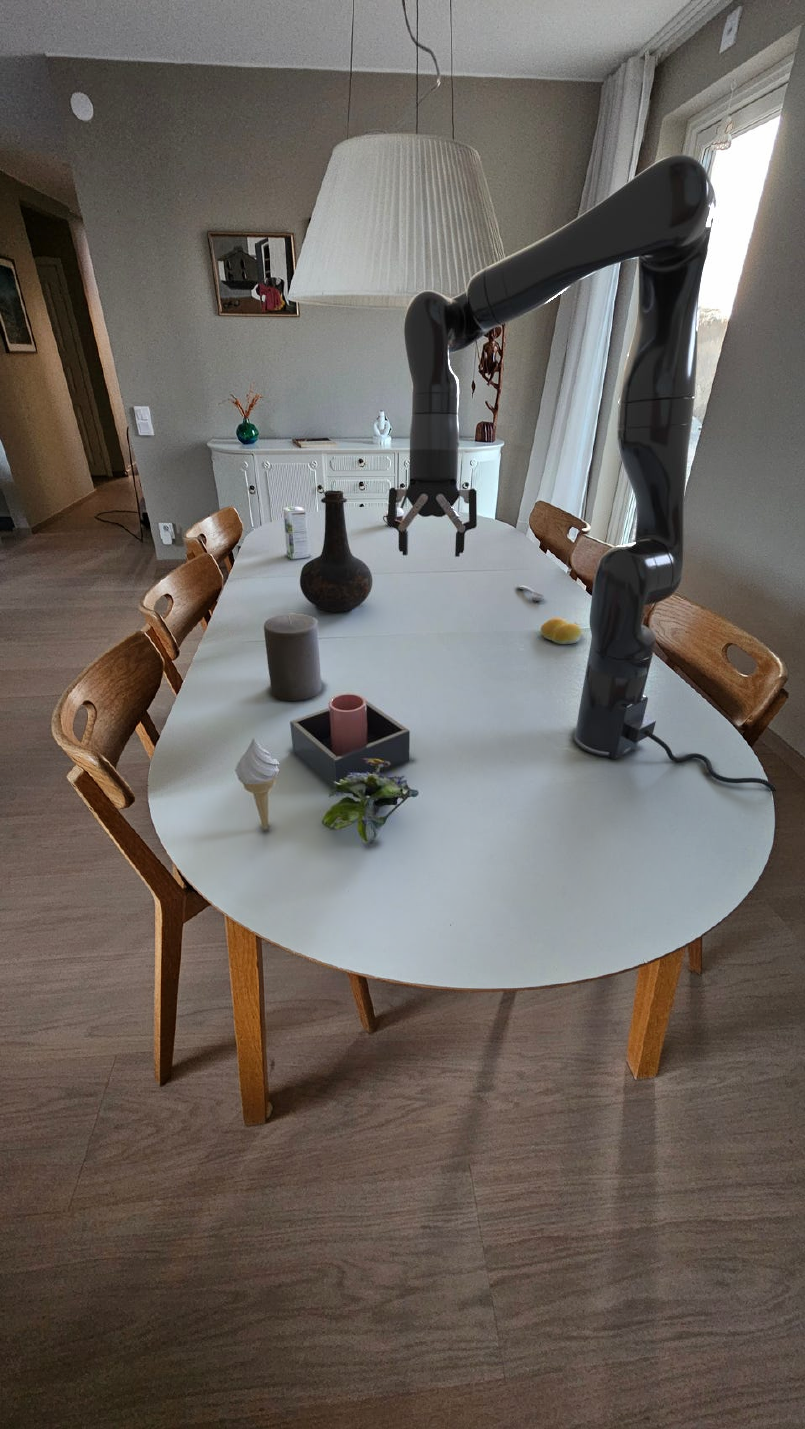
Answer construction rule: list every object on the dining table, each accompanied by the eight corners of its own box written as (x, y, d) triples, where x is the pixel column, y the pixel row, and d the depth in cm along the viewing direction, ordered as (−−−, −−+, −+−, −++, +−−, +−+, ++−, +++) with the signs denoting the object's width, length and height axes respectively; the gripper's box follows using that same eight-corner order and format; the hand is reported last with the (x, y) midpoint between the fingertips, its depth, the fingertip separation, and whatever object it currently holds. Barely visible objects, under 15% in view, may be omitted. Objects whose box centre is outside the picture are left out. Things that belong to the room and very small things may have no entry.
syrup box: (286, 554, 196) (281, 507, 188) (304, 552, 198) (300, 505, 190) (291, 559, 191) (287, 511, 184) (309, 557, 193) (306, 509, 186)
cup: (374, 753, 100) (373, 704, 95) (344, 766, 97) (341, 715, 92) (354, 738, 104) (352, 689, 99) (325, 749, 101) (321, 700, 96)
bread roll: (566, 648, 136) (569, 631, 134) (534, 636, 142) (536, 619, 140) (589, 638, 141) (591, 622, 139) (556, 627, 146) (559, 610, 144)
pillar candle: (273, 704, 114) (264, 629, 107) (268, 681, 122) (260, 609, 115) (326, 698, 117) (320, 623, 109) (318, 675, 125) (312, 604, 117)
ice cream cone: (268, 810, 88) (256, 720, 81) (295, 827, 85) (285, 735, 78) (236, 831, 85) (220, 738, 77) (263, 849, 82) (249, 755, 74)
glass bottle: (295, 598, 162) (285, 486, 148) (360, 590, 168) (356, 481, 153) (311, 623, 148) (302, 501, 133) (382, 613, 153) (380, 495, 139)
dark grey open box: (409, 760, 99) (409, 730, 96) (337, 791, 92) (335, 760, 89) (361, 724, 109) (360, 696, 106) (292, 750, 102) (289, 721, 99)
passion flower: (378, 836, 92) (424, 773, 89) (381, 879, 82) (433, 810, 79) (312, 799, 89) (358, 734, 86) (307, 839, 79) (358, 767, 76)
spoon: (535, 603, 159) (536, 595, 159) (515, 591, 170) (515, 584, 169) (546, 602, 160) (546, 594, 159) (525, 590, 170) (525, 583, 170)
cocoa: (382, 527, 226) (382, 492, 220) (383, 523, 231) (382, 489, 225) (409, 527, 226) (409, 492, 220) (408, 523, 231) (409, 489, 225)
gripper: (384, 446, 93) (385, 557, 99) (480, 447, 92) (475, 559, 97) (391, 448, 100) (390, 552, 106) (480, 449, 98) (475, 553, 104)
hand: (431, 555), depth 102 cm, fingers open, 8 cm apart
